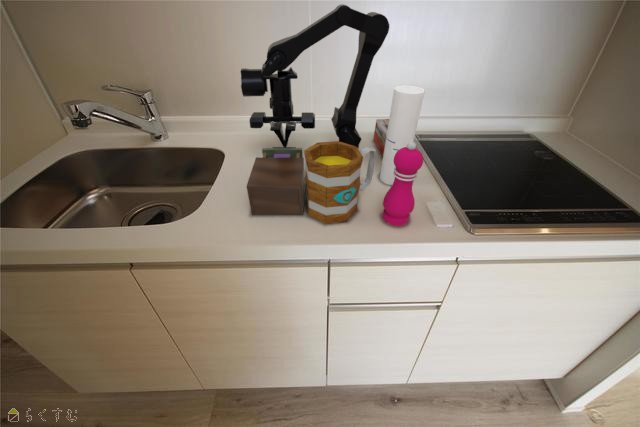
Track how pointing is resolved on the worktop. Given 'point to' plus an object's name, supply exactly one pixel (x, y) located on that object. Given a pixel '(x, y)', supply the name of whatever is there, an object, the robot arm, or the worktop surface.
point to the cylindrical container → (400, 126)
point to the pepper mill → (402, 185)
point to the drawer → (282, 152)
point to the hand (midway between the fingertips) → (285, 147)
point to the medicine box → (381, 134)
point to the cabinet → (276, 186)
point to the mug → (335, 180)
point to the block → (282, 156)
